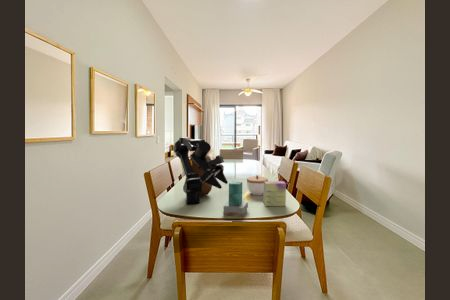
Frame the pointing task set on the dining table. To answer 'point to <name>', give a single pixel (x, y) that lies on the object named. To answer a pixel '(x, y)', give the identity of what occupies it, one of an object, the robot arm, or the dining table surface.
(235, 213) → the tower bottom slab
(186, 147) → the robot arm
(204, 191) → the butternut squash
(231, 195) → the teal block
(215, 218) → the dining table surface
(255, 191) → the lidded bowl
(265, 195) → the box
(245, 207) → the tower top slab
